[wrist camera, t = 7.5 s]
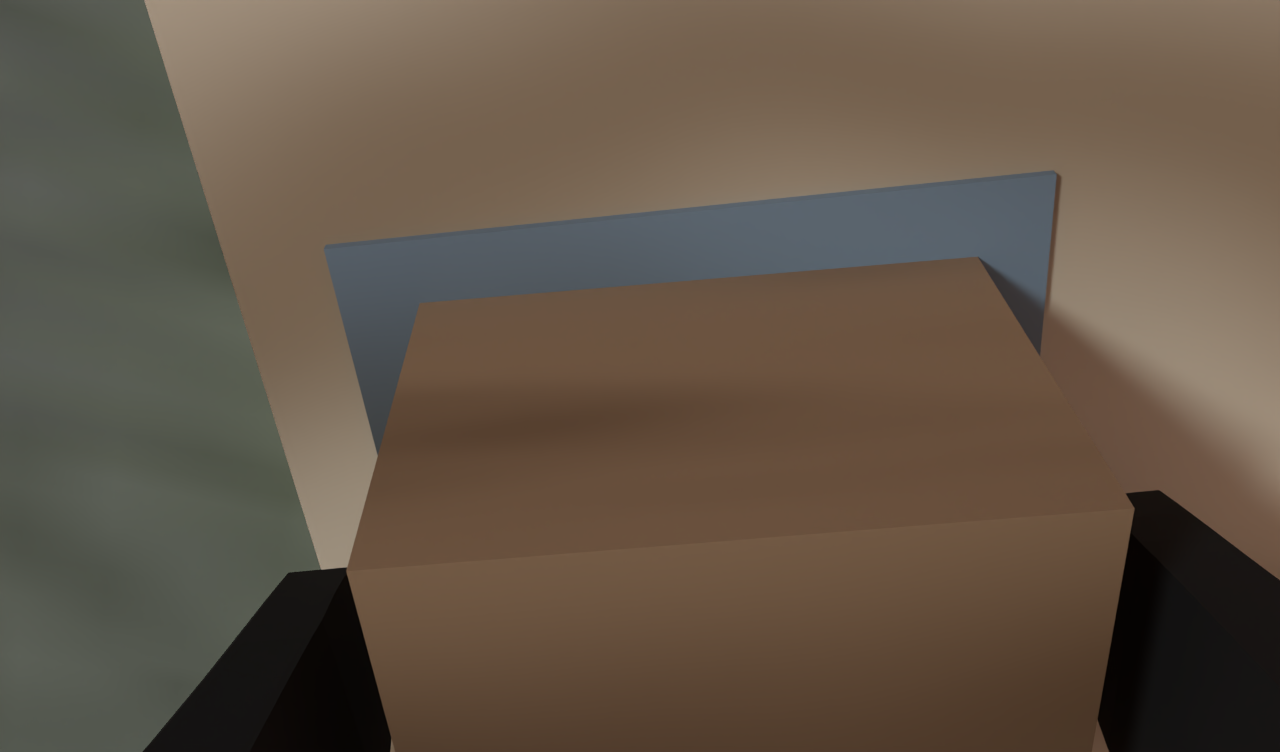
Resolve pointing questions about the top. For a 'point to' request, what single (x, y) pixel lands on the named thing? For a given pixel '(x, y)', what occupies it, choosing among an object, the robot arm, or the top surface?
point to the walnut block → (739, 523)
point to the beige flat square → (756, 192)
